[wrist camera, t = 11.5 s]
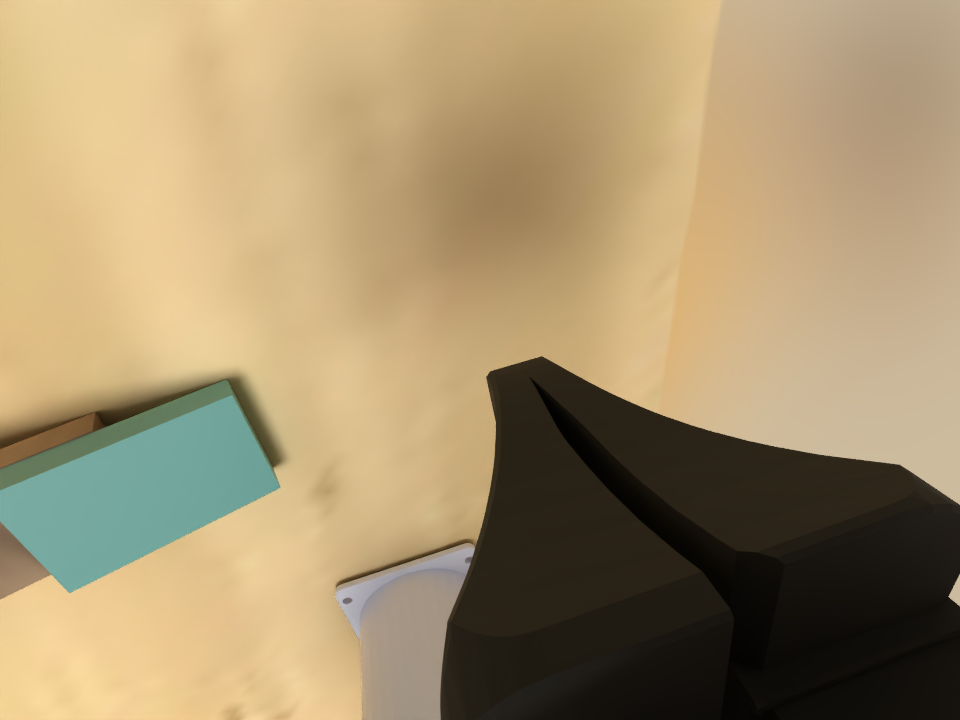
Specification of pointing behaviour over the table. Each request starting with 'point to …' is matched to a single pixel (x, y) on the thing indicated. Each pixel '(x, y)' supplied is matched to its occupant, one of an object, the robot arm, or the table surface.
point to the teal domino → (135, 485)
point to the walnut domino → (3, 558)
